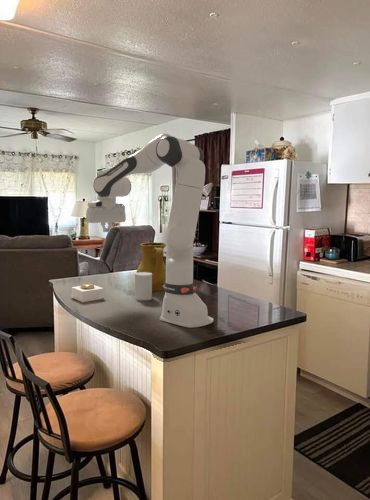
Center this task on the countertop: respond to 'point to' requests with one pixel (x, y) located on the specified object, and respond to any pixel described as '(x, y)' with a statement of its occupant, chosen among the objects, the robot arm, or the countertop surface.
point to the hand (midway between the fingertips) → (106, 231)
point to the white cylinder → (143, 286)
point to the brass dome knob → (87, 286)
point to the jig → (87, 293)
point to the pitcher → (153, 263)
